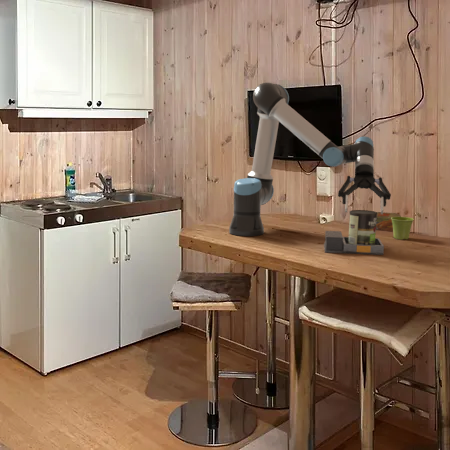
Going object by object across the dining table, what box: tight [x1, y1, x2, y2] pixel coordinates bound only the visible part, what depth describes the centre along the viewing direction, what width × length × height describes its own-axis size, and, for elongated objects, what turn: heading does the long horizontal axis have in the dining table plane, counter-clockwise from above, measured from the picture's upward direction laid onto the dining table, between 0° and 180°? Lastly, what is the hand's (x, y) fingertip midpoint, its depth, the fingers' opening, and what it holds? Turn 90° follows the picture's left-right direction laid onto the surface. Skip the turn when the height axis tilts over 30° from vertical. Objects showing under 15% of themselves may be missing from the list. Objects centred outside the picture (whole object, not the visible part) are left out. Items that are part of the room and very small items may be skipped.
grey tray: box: [323, 230, 385, 256], centre depth 225 cm, size 21×15×6 cm
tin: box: [376, 211, 402, 232], centre depth 268 cm, size 15×3×8 cm, turn 69°
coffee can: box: [348, 209, 378, 245], centre depth 224 cm, size 10×10×14 cm
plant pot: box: [391, 216, 415, 241], centre depth 249 cm, size 9×9×9 cm
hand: (364, 211), depth 227 cm, fingers open, 13 cm apart
